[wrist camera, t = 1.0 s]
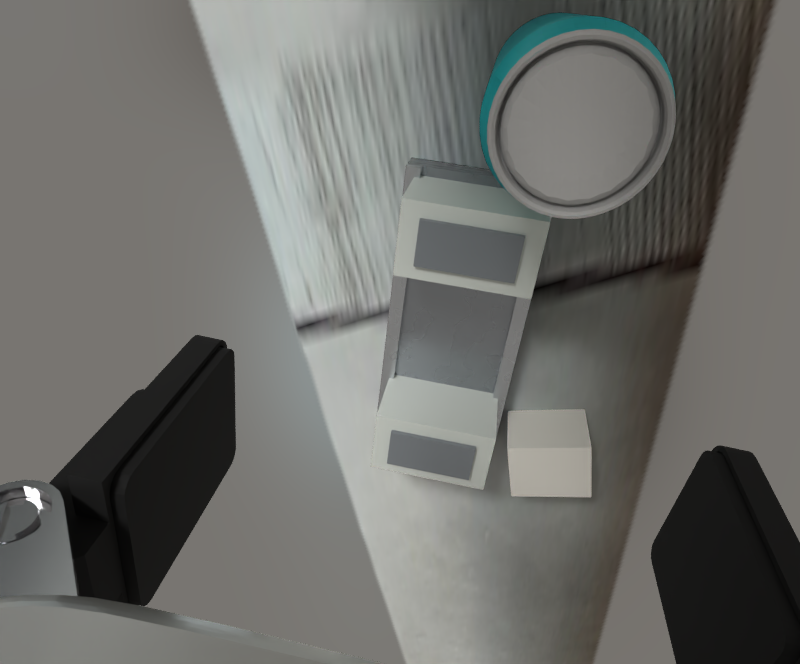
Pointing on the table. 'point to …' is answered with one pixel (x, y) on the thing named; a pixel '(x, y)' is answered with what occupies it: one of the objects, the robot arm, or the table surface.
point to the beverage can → (577, 114)
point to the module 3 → (549, 453)
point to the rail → (452, 319)
